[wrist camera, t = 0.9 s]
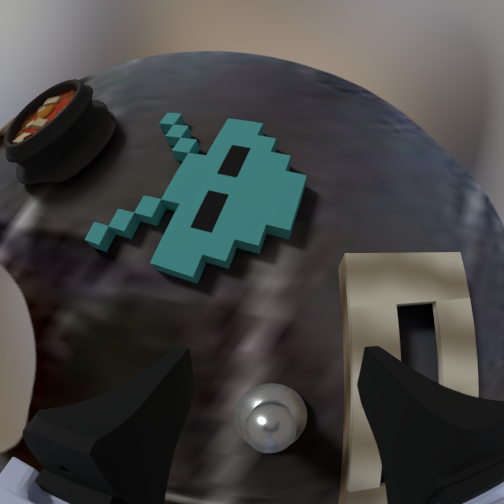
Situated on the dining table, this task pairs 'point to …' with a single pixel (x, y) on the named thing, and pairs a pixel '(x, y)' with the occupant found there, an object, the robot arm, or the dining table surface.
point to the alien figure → (214, 200)
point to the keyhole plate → (397, 343)
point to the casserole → (58, 134)
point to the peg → (270, 417)
